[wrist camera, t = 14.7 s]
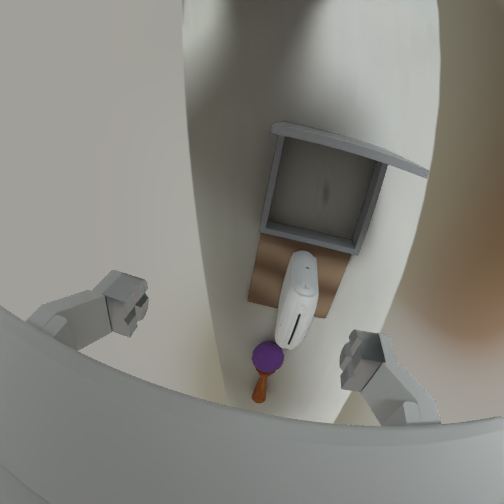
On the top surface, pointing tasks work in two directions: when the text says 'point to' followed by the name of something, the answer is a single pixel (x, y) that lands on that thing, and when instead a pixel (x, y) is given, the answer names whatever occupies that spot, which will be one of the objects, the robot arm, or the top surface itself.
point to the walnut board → (275, 266)
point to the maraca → (265, 366)
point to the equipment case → (382, 161)
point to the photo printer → (297, 300)
